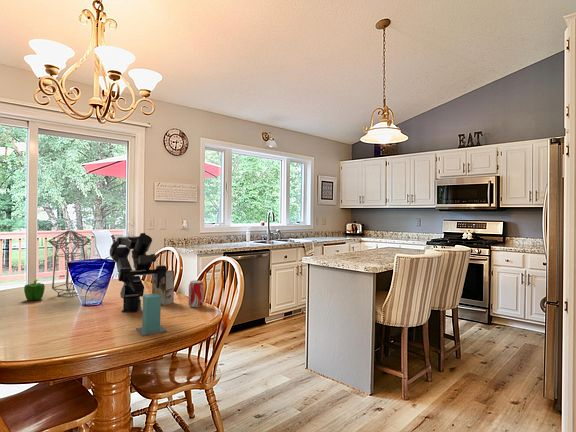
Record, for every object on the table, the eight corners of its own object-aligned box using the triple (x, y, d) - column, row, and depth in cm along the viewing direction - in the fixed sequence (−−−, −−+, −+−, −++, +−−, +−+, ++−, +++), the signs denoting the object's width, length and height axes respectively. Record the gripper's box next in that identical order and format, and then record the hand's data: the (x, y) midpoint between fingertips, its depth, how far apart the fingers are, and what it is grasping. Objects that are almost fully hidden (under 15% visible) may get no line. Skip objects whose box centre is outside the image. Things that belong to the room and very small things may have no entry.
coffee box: (174, 302, 178) (175, 270, 178) (165, 305, 172) (166, 272, 172) (160, 300, 182) (160, 269, 182) (151, 303, 176) (151, 270, 176)
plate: (135, 329, 136) (135, 328, 136) (159, 325, 141) (159, 324, 141) (141, 336, 129) (141, 334, 129) (166, 331, 134) (166, 330, 134)
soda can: (199, 308, 168) (199, 283, 168) (185, 307, 169) (186, 282, 169) (205, 304, 174) (206, 280, 174) (192, 303, 176) (193, 279, 176)
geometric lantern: (92, 293, 195) (93, 229, 194) (70, 300, 179) (71, 231, 178) (67, 291, 197) (68, 228, 196) (43, 298, 182) (44, 230, 181)
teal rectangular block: (142, 328, 135) (143, 294, 135) (156, 326, 138) (156, 293, 138) (146, 332, 131) (146, 297, 131) (160, 329, 134) (160, 295, 134)
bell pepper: (36, 302, 173) (36, 281, 173) (20, 301, 174) (20, 281, 174) (48, 297, 182) (48, 278, 182) (32, 297, 182) (33, 278, 182)
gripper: (119, 248, 143) (125, 280, 135) (166, 246, 154) (174, 275, 146) (115, 265, 150) (120, 296, 141) (160, 262, 161) (167, 291, 152)
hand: (146, 289), depth 145 cm, fingers open, 9 cm apart
